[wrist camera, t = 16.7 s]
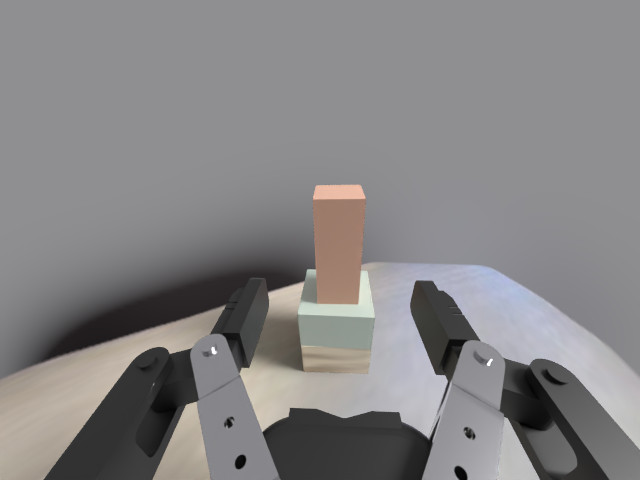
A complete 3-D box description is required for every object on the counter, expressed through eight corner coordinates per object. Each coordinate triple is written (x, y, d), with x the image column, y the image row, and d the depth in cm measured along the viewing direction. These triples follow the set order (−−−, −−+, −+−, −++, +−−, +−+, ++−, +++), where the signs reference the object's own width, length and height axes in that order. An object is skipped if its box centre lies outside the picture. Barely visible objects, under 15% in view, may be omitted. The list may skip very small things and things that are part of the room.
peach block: (358, 304, 25) (365, 198, 19) (317, 303, 25) (312, 199, 19) (355, 278, 29) (360, 184, 23) (319, 278, 29) (316, 185, 23)
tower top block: (370, 349, 26) (374, 317, 23) (300, 345, 26) (297, 314, 24) (364, 299, 33) (367, 270, 30) (309, 297, 33) (307, 269, 31)
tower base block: (368, 374, 28) (371, 348, 26) (303, 372, 29) (301, 346, 26) (361, 322, 35) (363, 298, 33) (309, 322, 36) (307, 297, 33)
